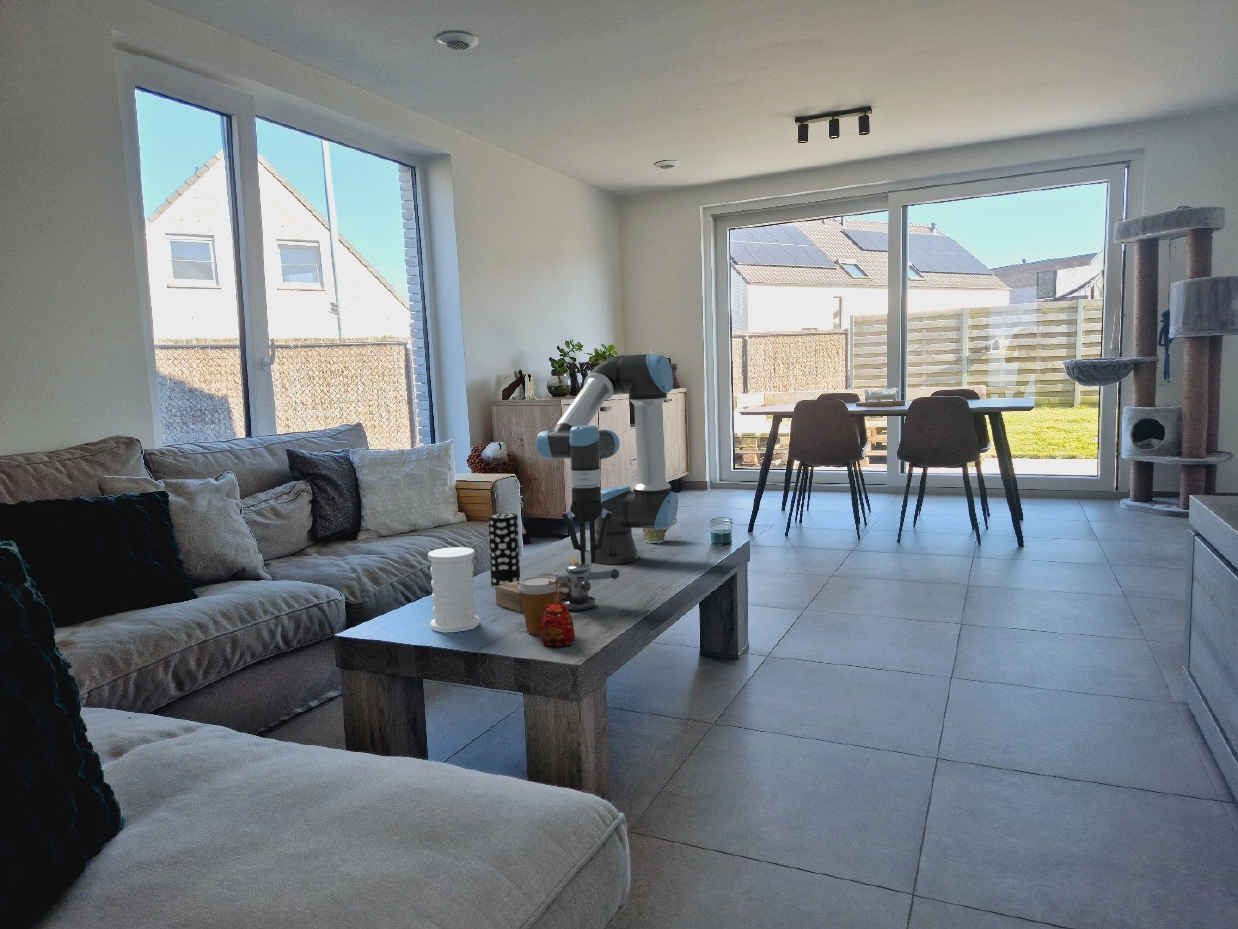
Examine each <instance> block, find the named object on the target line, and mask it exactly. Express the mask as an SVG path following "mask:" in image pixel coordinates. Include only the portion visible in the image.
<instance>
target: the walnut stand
mask: <svg viewBox="0 0 1238 929" xmlns="http://www.w3.org/2000/svg"><path fill="white" fill-rule="evenodd" d="M556 575H557V574H555V573H550V572H549V573H548V572H547V573H544V574H540V575H539V574H538V576H556ZM520 580H521V579H520ZM520 580H519V581H515V582H511V583H506V584H502V585H498V586H496V588H495V603H496V606H498V605H499V607H502V608H505V607H507V608H506V609H508V608H510V609H509V610H511V609H514V610H516V611H515V612H518V611H519V613H521V612H520V611H522V612H524V611H523V605H522V598H521V593H520V591H519V589H518V586H519V584H520ZM558 591H559V595H558V597H559V602H560V600H561V599H563V598H565V599H568V598H569V589H568V582H566V583H559V587H558ZM514 610H513V611H514Z"/></svg>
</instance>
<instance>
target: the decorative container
mask: <svg viewBox="0 0 1238 929" xmlns="http://www.w3.org/2000/svg"><path fill="white" fill-rule="evenodd" d="M474 557H475V549H473V548H470V547H466V546H465V547H464V546H463V547H461V546H459V547H458V546H457V547H456V546H455V547H445V548H437V549H434V550H431V551H429V552H428V553H427V560H428V561H429V562H430V563H431V566H430V574H431V582H430V585H431V588H432V593H431V594H432V595H431V599H432V601H433V606H432V613H433V615H434V618H433V619H432V620H431V621H430V629H431V628H432V629H434V630H438V631H445V632H448V631H451V632H453V631H460V630H466V629H469V628H472V627H474V626H478V624H479V623H480V617H479V616H478V615H476V614H475V611H476V608H477V607H476V606H477V605H476V603H475V598H476V597H475V596H476V591H475V589H474V585H475V578H474V573H473V572H474V568H475V567H474V563H473V559H474ZM479 625H480V624H479ZM478 627H479V626H478Z"/></svg>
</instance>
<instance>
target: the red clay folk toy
mask: <svg viewBox="0 0 1238 929" xmlns="http://www.w3.org/2000/svg"><path fill="white" fill-rule="evenodd" d="M556 575H557V578H556V579H555V582H551V581H548V582H549V585H551V584H556V594H557V596H556V602H555V604H553V605H550V604H547V605H546V606H545V611H544V613H543V616H542V619H541V623H540V624H541V625H540V629H541V635H540V639H541V642H542V645H543V644H544V645H543V646H547V647H557V648H563V647H562V646H566V647H570V646H571V644H572V643H573V642H574V639H575V629H574V627H575V626H574V625H575V624H574V620H573V617H572V615H571V613H570V610H568V609H567V606H566V605H561V604H560V601H559V597H558V595H559V591H558V580H559V579H558V575H559V574H557V573H556ZM557 579H558V580H557Z"/></svg>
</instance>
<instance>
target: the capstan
mask: <svg viewBox="0 0 1238 929" xmlns="http://www.w3.org/2000/svg"><path fill="white" fill-rule="evenodd" d="M568 561H570V562H571V564H567V565H565V571H566V573H567V574H560V575H559V574H558V579H559V580H558V579H557V580H558V583H566V582H568V589H569V598H568V599H565V598H563V599H561V600H560V601H559V602H560V604H561V605H566V606H567V609H568V611H577V612H578V611H579V612H580V611H586V610H589V609H593V608H594V607H596V598H595V597H593V596H592V595H591V596H590V595H589V592H590V590H591V588H592V585H591V583H590V582H589V581H599V580H608V579H612V580H617V579H618V578H619V577H620V571H619V570H618V569H616V568H613V569H611V570H604V571H603V570H602V571H601V570H600V571H592V572H590V573H588V569H589V565H588V564H582V563H581V562H579V561H578V560H577V559H576V557H574V555H573V556H572V555H571V556H569V557H568ZM555 575H556V576H551V577H555V578H557V574H555Z"/></svg>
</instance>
